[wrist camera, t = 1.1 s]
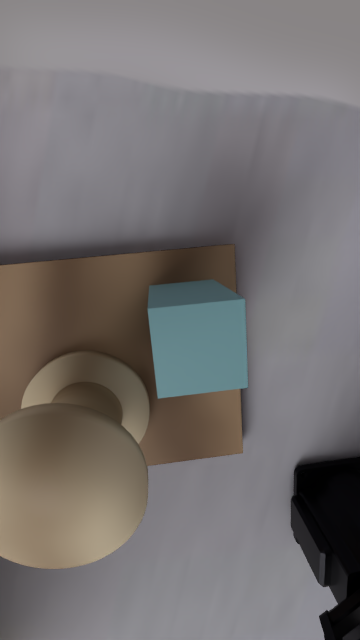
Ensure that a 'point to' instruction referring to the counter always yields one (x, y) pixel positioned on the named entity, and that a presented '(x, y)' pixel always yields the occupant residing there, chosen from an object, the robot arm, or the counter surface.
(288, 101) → the counter surface
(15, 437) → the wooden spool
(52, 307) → the board
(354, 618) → the robot arm
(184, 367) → the block
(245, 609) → the counter surface
